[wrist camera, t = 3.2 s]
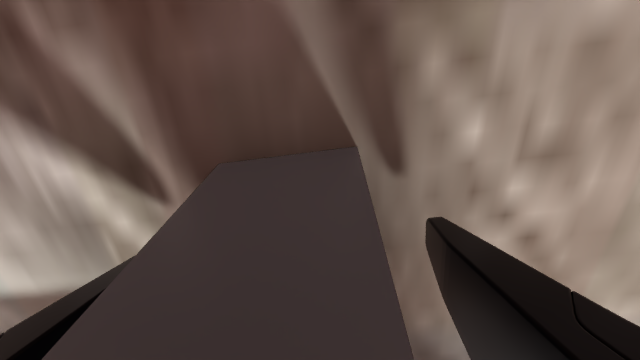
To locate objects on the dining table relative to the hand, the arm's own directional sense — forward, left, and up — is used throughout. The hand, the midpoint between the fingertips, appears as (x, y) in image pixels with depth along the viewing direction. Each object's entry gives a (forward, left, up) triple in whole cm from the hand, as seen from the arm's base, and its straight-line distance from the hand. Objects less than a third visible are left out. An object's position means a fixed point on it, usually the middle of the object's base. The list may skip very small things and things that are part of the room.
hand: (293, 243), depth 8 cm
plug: (0, 0, -2) cm, 2 cm away
